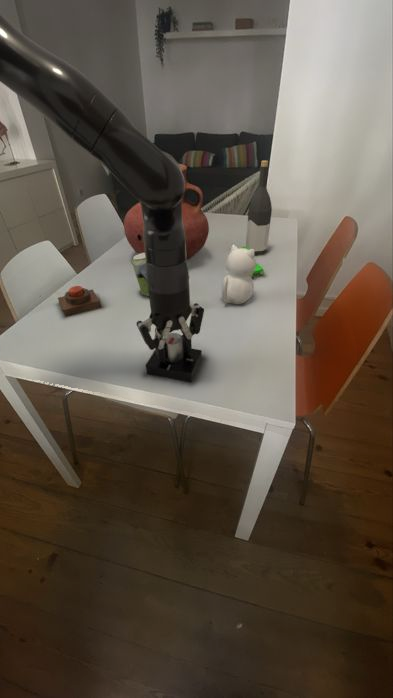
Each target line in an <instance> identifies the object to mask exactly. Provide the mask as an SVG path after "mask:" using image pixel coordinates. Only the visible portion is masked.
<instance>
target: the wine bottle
mask: <svg viewBox="0 0 393 698" xmlns="http://www.w3.org/2000/svg"><path fill="white" fill-rule="evenodd" d="M259 167H260V168H259V180H258V187H257V189H256V191H255V193H254V194H253V196H252V198H251V200H250V203H249V206H248V213H247V225H246V239H245V247H246V248H248V249H254V251H255V254H254V256H263V255H265V254H266V253H267V251H268V244H269V238H270V237H269V236H270V230H271V229H270V228H271V219H272V211H273V209H272V201H271V197H270V196H271V195H270V194H269V191H268V188H267V181H268V171H269V160H261V164H260V166H259Z"/></svg>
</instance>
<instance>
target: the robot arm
mask: <svg viewBox="0 0 393 698" xmlns="http://www.w3.org/2000/svg"><path fill="white" fill-rule="evenodd" d="M0 83H2V84H3V85H4V86H5V87H7V88H8V89H9V90H11V91H12V92H13V93H15V94H16V95H17V96H18V97H19V98H21V99H22V100H23V101H24V102H26V103H27V104H28V105H29V106H31V107H32V108H33V109H34V110H35V111H37V112H38V113H39V114H41V116H43V117H44V118H45V119H46V120H48V121H49V122H50V123H51V124H52V125H53V126H55V127H56V128H57V129H58V130H60V131H61V132H62V133H63V134H64V135H65V136H67V137H68V138H69V139H70V140H71V141H72V142H74V144H76V145H78V147H80V148H81V149H82V150H84V151H85V152H86V153H87V154H88V155H90V156H91V157H92V158H93V159H95V160H96V161H98V162H99V163H100V164H102V165H103V166H104V167H105V168H106V169H107V170H108V171H109V172H110V173H111V174H112V176H114V178H115V179H116V180H117V181H118V182H119V183H120V184H121V185H122V186H123V187H124V188H125V189H126V191H128V192H129V193H130V194H131V195H132V196H133V197H134V198H135V199H137V200H138V201H140V202H141V209H142V215H143V223H144V227H143V241H144V250H145V258H146V277H147V285H148V293H149V296H148V300H149V301H148V302H149V307H150V308H149V309H150V314H149V318H147V319H145V320H143V321H142V320H137V322H136V323H135V325H136V327H137V329H138V331H139V333H140V336H141V337H142V339H143V342H144V343H145V345H146V346H147V347H148V349H149V350H150V351H153V350H156V356H157V357H158V359H159V360H160V361H162V362H166V353H165V348H164V344H165V340H167V338H168V335H169V333H173V332H174V331H180V332H181V333H182V334H180V335H181V336H182V338H183V350H184V352H185V353H186V354H187V353H190V350H191V348H192V347H193V346H192V344H193V343H192V338H193V336H194V335H198V334H199V333H200V332H201V327H202V322H203V319H204V314H205V308H203V306H201V305H200V304H199V303H198V302H196V303H194V304H192V305H190V303H191V297H190V296H191V295H190V272H189V263H188V260H187V255H186V236H185V230H184V226H183V221H182V197H183V194H184V190H185V180H184V176H183V173H182V171H181V169H180V166H179V165H178V164H179V162H178V161H177V160H176V159H175V158H174V157H173V155H171V154H169V153H168V152H165V151H163V150H161V149H160V148H159V147H158V146H157V145H155V143H153V142H152V141H151V140H150V139H149V138H148V137H147V136H145V135H144V133H142V132H141V131H140V130H139V129H138V128H137V127H136V126H135V124H134V123H133V121H132V120H131V118H130V117H129V116H128V115H127V114H126V112H125V111H124V110H123V109H121V107H119V106H118V105H117V103H115V102H114V101H113V100H112V99H111V98H110V97H109V96H108V95H107V94H106V93H105V92H104V91H103V90H102V89H100V87H98V86H97V84H96V83H94V82H93V81H92V80H91V79H90V78H89V77H88V76H86V75H85V74H84V73H83V72H81V71H80V70H79V69H77V68H76V67H75V66H73V65H72V64H70V63H69V62H67V61H65V60H64V59H63V58H61V57H59V56H58V55H55V54H54V53H52V52H50V51H48V49H46V48H44V47H42V46H41V45H39V44H38V43H37V42H35V41H33V40H32V39H30V38H29V37H27V36H26V35H25V34H24V33H22V32H21V31H20V30H19V29H18V28H17V27H16V26H14V25H13V24H12V23H11V22H9V21H8V20H7V19H6V17H4V16H3V14H1V13H0ZM189 317H190V321H189V325H188V323H187V321H188V319H189ZM152 325H154V326H155V328H154V338H152V336H151V334H150V333H151V332H152ZM192 349H193V348H192Z"/></svg>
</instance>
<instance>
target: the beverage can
mask: <svg viewBox="0 0 393 698" xmlns="http://www.w3.org/2000/svg"><path fill="white" fill-rule="evenodd" d="M131 263H132V267H133V270H134V273H135V277H136V279H137V284H138V286H139V289H140V293H141V295H145V296H148V297H149V293H148V285H147V277H146V258H145V253H140V254H138V253H137V254H135V255H133V256H132V261H131Z"/></svg>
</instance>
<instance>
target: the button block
mask: <svg viewBox="0 0 393 698" xmlns="http://www.w3.org/2000/svg"><path fill="white" fill-rule="evenodd" d="M82 288H83V292H84V294H83V295H82V296H79V297H71V296H70V292H69V290H68V291H66V292H65V294H64V296H58V297H57V300H58V303H59V306H60V308H61V310H62V314H63V315H64V318H67V317H70V316H74V315H78V314H82V313H85V312H86V313H87V312H90V311H92V310H97V309H101V308H102V304H101V301H100V299H99V297H98V295H97V294H96V293H95V291H94V289H87V288H84V287H82Z"/></svg>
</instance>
